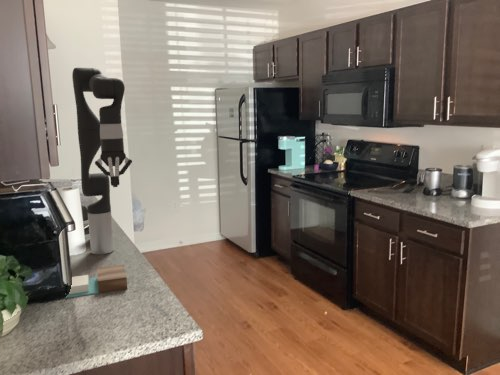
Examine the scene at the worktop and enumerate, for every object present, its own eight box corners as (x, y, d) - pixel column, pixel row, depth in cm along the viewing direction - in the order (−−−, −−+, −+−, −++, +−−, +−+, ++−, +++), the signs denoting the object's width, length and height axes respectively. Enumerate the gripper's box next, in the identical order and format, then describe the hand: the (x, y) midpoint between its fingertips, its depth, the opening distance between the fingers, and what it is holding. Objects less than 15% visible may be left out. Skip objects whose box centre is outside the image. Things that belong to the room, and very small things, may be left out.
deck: (98, 278, 153) (97, 268, 152) (124, 275, 156) (123, 264, 155) (98, 292, 141) (97, 281, 140) (127, 288, 144) (126, 277, 143)
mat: (67, 282, 150) (67, 281, 150) (98, 278, 153) (98, 277, 153) (65, 298, 137) (65, 297, 137) (98, 293, 140) (98, 292, 140)
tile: (88, 274, 149) (88, 281, 150) (69, 277, 147) (70, 284, 148) (88, 284, 141) (88, 291, 141) (68, 287, 139) (69, 294, 139)
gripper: (130, 136, 155) (133, 183, 158) (91, 137, 151) (95, 186, 154) (132, 137, 148) (135, 187, 151) (91, 138, 144) (95, 189, 147)
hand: (115, 186), depth 153 cm, fingers closed
